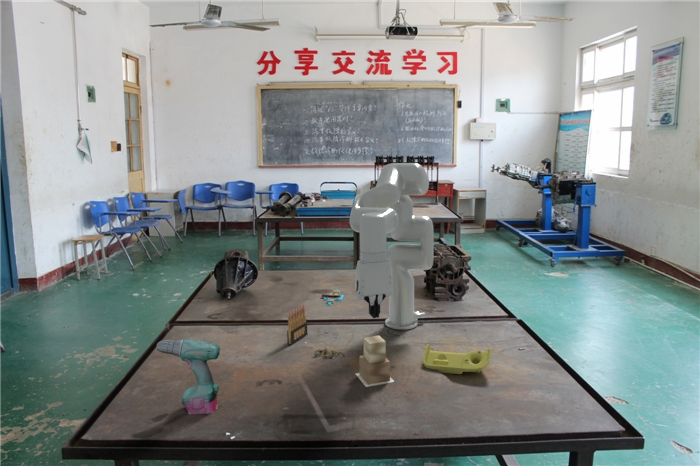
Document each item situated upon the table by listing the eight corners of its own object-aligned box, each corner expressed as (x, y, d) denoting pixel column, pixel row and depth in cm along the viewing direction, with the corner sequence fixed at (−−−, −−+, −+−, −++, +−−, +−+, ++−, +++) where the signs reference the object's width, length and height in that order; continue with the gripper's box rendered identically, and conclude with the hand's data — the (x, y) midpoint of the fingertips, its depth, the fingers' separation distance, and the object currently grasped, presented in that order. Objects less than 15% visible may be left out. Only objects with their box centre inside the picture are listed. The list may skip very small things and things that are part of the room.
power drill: (166, 403, 146) (159, 335, 142) (225, 400, 147) (220, 332, 143) (159, 417, 139) (152, 346, 135) (221, 413, 140) (216, 343, 136)
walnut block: (381, 370, 161) (380, 352, 160) (390, 380, 154) (390, 361, 153) (359, 374, 159) (359, 355, 158) (367, 384, 152) (367, 365, 151)
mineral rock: (309, 356, 170) (316, 341, 177) (310, 367, 172) (317, 351, 179) (340, 361, 167) (347, 345, 174) (341, 371, 169) (348, 355, 176)
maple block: (379, 354, 159) (379, 335, 157) (385, 360, 154) (385, 341, 153) (363, 356, 157) (363, 337, 156) (369, 363, 152) (369, 343, 151)
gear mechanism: (316, 306, 227) (337, 306, 225) (316, 294, 226) (337, 294, 224) (327, 292, 246) (346, 292, 245) (326, 281, 245) (346, 281, 244)
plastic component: (421, 364, 162) (427, 340, 170) (425, 380, 166) (431, 356, 174) (488, 370, 154) (492, 344, 161) (491, 387, 158) (495, 360, 166)
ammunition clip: (291, 345, 184) (290, 312, 182) (287, 344, 185) (285, 312, 183) (307, 334, 194) (306, 303, 191) (303, 334, 195) (302, 303, 192)
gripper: (392, 250, 155) (392, 308, 160) (344, 255, 151) (346, 315, 155) (402, 256, 148) (403, 317, 153) (353, 262, 144) (354, 325, 148)
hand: (374, 316), depth 154 cm, fingers closed
